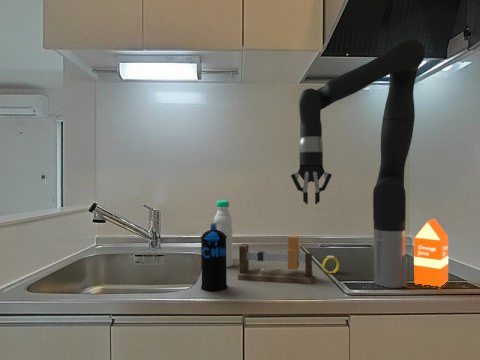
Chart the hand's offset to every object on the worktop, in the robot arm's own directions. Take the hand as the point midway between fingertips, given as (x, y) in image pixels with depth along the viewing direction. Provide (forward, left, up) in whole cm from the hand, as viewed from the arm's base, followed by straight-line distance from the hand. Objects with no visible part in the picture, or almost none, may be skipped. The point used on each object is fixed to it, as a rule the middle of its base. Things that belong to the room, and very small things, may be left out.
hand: (311, 203), depth 123 cm
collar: (+6, 0, -21) cm, 22 cm away
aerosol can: (+29, +15, -25) cm, 41 cm away
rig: (+12, 0, -25) cm, 28 cm away
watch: (-6, -10, -25) cm, 28 cm away
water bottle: (+34, -12, -25) cm, 44 cm away
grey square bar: (+12, 0, -19) cm, 23 cm away
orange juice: (-37, -4, -25) cm, 45 cm away
